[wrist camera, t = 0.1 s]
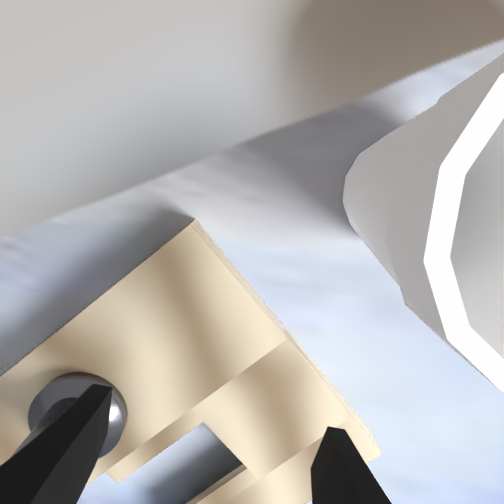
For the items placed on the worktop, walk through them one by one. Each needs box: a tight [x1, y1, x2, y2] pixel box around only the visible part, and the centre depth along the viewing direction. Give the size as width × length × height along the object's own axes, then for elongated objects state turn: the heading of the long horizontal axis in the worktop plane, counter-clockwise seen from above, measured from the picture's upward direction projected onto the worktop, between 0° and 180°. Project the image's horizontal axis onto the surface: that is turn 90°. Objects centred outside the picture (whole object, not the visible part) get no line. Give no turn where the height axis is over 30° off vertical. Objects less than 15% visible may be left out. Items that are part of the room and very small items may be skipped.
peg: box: [9, 372, 128, 459], centre depth 18 cm, size 5×5×8 cm
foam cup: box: [342, 54, 504, 392], centre depth 15 cm, size 10×9×13 cm
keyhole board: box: [0, 219, 382, 504], centre depth 23 cm, size 22×18×2 cm
